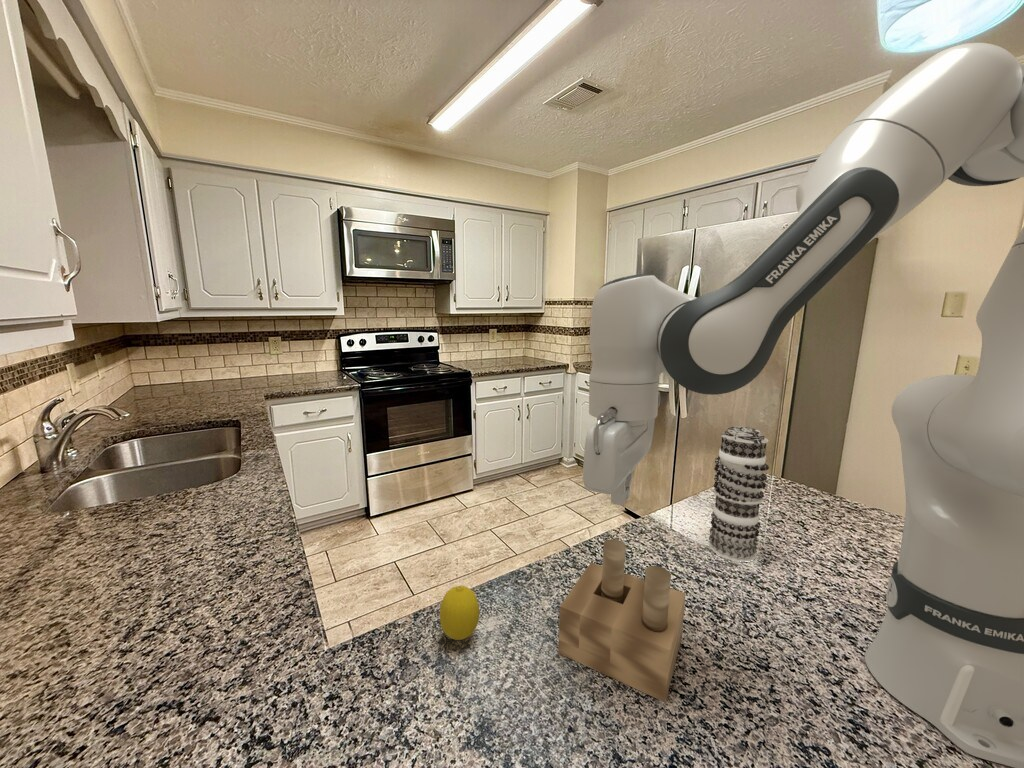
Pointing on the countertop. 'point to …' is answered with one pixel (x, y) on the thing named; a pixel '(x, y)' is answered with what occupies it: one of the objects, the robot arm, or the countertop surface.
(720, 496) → the decorative candle
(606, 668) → the wooden peg hole block
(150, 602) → the countertop surface
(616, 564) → the peg
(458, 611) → the lemon
